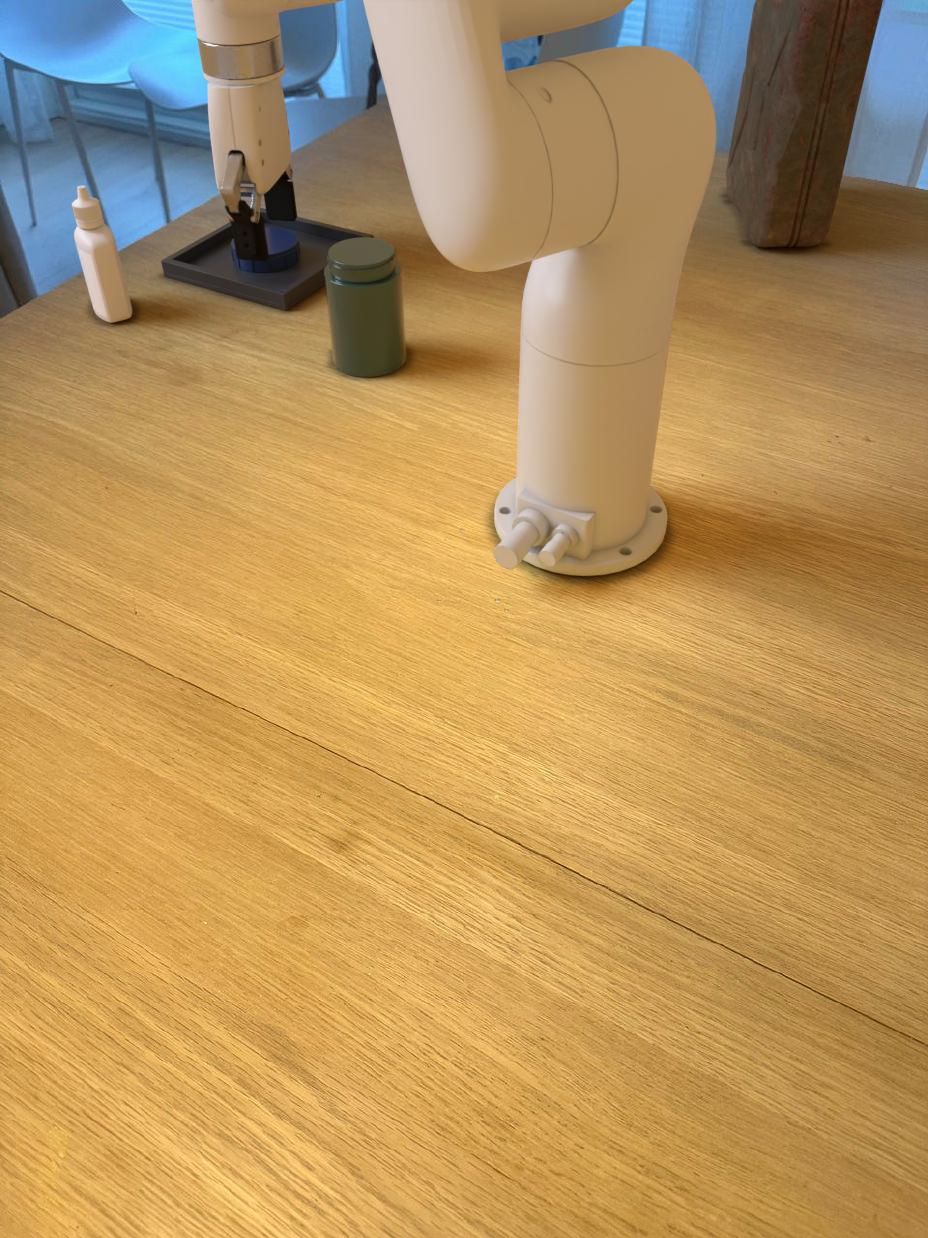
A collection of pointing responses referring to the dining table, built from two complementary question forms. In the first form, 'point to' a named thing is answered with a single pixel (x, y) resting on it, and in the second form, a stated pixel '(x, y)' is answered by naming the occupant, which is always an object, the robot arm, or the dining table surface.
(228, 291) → the tray
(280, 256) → the jar lid
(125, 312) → the eye dropper bottle
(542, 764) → the dining table surface
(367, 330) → the jar
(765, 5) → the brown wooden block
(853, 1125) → the dining table surface
